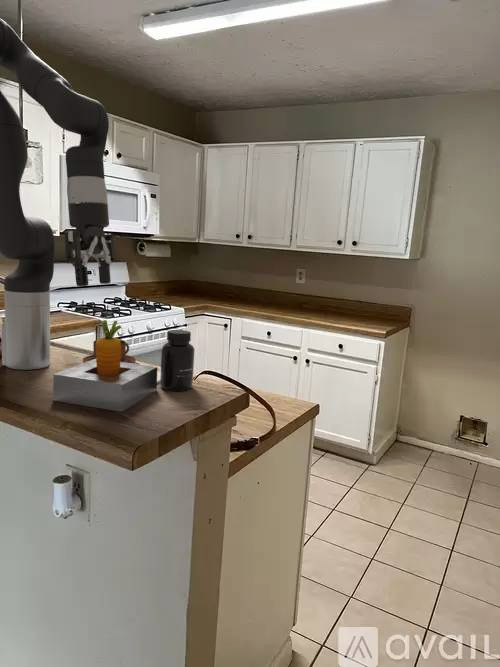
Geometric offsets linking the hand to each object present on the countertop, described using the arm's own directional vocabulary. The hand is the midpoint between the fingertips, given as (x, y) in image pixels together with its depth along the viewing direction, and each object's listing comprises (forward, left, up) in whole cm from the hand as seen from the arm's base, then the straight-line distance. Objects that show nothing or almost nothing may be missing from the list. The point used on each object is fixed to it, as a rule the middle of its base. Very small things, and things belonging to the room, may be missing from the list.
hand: (94, 284), depth 99 cm
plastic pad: (+8, +9, -21) cm, 24 cm away
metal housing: (+7, -6, -21) cm, 23 cm away
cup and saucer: (-4, +13, -21) cm, 25 cm away
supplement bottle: (+17, +5, -21) cm, 27 cm away
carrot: (+7, -6, -21) cm, 23 cm away
